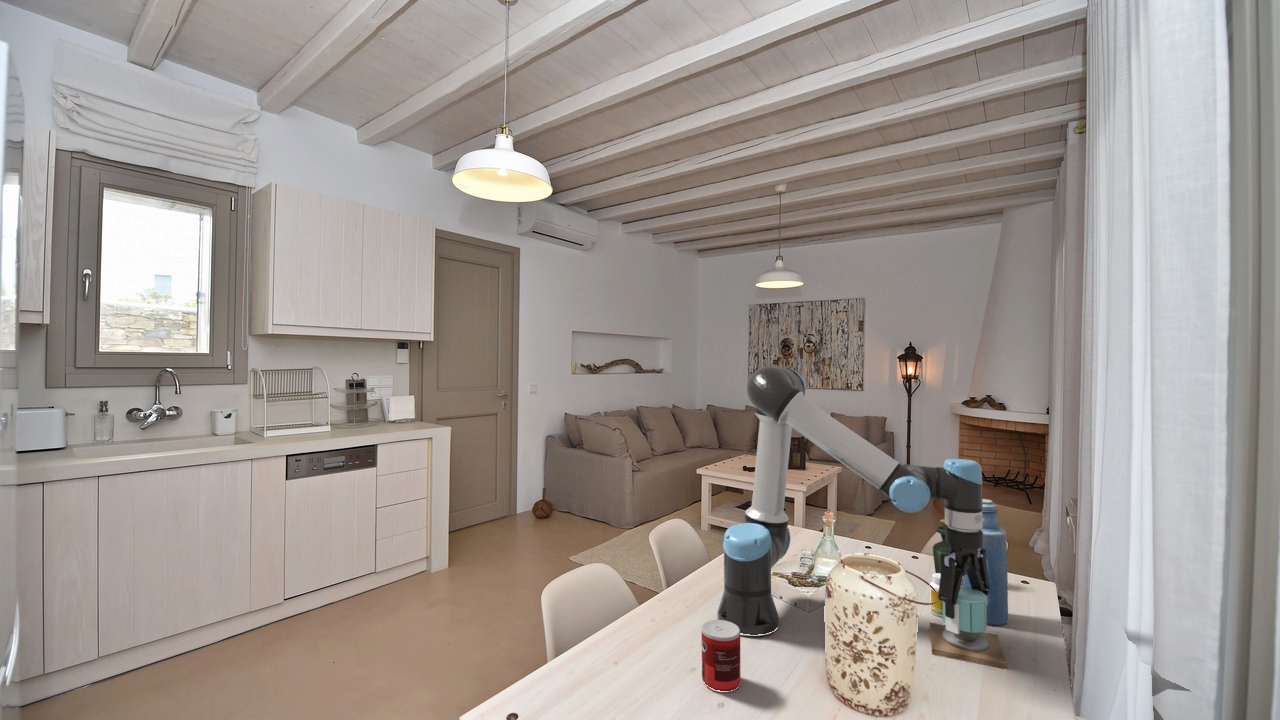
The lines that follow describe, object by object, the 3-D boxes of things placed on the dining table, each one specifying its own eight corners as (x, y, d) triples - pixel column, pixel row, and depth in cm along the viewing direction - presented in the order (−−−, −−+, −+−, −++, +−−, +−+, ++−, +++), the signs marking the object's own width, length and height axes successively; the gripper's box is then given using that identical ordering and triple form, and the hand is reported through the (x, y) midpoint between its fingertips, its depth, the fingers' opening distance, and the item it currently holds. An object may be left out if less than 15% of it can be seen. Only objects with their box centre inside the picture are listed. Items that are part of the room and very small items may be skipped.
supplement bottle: (956, 619, 139) (956, 580, 139) (933, 617, 140) (933, 579, 140) (949, 609, 144) (948, 572, 144) (926, 608, 145) (926, 571, 145)
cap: (996, 631, 121) (996, 599, 121) (961, 634, 120) (960, 601, 120) (967, 614, 130) (967, 584, 130) (934, 616, 129) (933, 586, 129)
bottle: (1017, 621, 137) (1015, 502, 137) (992, 629, 133) (990, 506, 133) (979, 606, 146) (977, 494, 146) (955, 614, 141) (953, 498, 142)
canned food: (714, 667, 116) (713, 616, 117) (747, 681, 111) (747, 627, 112) (694, 683, 111) (693, 629, 111) (728, 698, 106) (728, 641, 106)
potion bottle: (968, 588, 158) (967, 525, 158) (937, 585, 160) (936, 524, 160) (958, 577, 166) (957, 518, 166) (929, 575, 168) (928, 516, 168)
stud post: (932, 654, 122) (931, 601, 122) (929, 627, 134) (929, 580, 134) (1006, 669, 115) (1005, 614, 116) (997, 639, 128) (996, 589, 128)
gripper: (951, 539, 117) (953, 645, 116) (1006, 525, 127) (1008, 622, 127) (919, 530, 123) (920, 630, 123) (974, 517, 134) (975, 609, 133)
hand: (965, 626), depth 125 cm, fingers closed on cap, 9 cm apart
